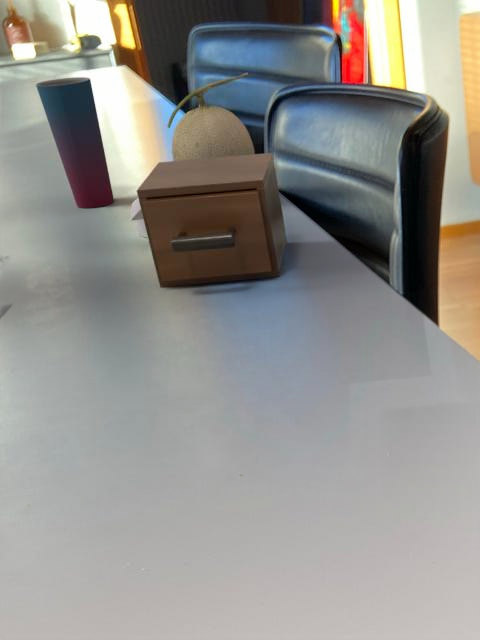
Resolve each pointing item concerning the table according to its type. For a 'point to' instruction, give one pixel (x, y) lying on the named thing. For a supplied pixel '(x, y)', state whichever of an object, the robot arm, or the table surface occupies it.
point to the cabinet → (219, 178)
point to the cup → (78, 138)
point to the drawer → (208, 234)
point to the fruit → (209, 130)
